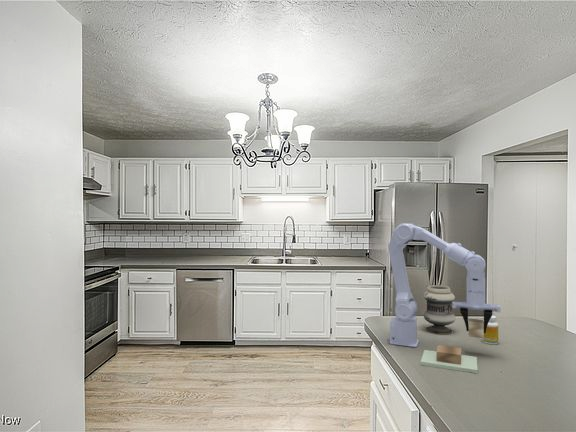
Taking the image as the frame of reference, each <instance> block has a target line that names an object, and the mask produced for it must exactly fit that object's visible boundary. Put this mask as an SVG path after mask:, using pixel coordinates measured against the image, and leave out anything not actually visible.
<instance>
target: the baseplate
mask: <svg viewBox="0 0 576 432" xmlns="http://www.w3.org/2000/svg"><path fill="white" fill-rule="evenodd" d="M420 365H421V366H426V367H432V368H439V369H446V370H452V371H453V370H454V371H460V372H466V373H471V372H472V374H478V372H479V371H478V357H477V356H472V355H465V354H461V365H459V364H452V363H446V362H439V361H437V350H436V351H435V350H430V349H429V350H428V349H424V350H423V353H422V356H421V360H420Z"/></svg>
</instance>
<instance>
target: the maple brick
mask: <svg viewBox="0 0 576 432" xmlns="http://www.w3.org/2000/svg"><path fill="white" fill-rule="evenodd" d="M483 321H484V319H476V318H468V325H469V331H468V337H469V338H477V339H478V338H479V339H482V338H484V322H483Z"/></svg>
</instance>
